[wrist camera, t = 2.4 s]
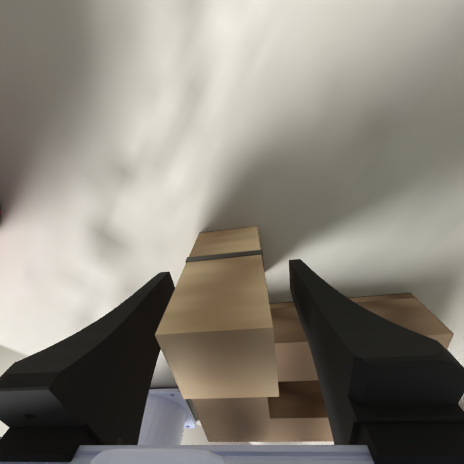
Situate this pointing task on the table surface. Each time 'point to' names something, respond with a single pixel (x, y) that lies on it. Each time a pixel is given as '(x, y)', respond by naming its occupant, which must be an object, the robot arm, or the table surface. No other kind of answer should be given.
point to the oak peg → (221, 320)
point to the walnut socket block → (301, 379)
